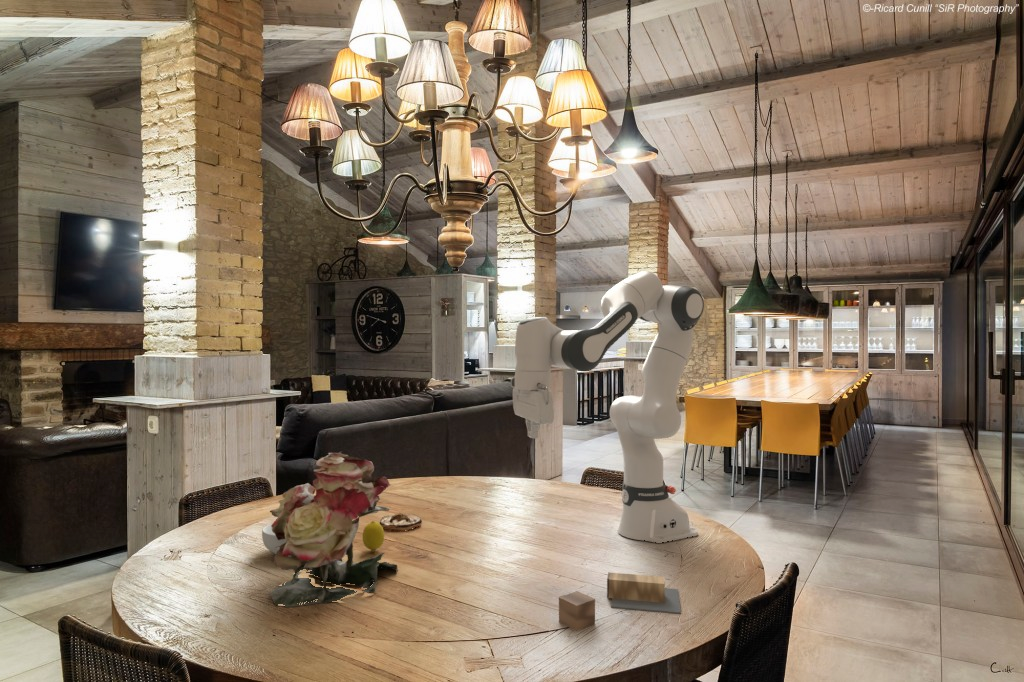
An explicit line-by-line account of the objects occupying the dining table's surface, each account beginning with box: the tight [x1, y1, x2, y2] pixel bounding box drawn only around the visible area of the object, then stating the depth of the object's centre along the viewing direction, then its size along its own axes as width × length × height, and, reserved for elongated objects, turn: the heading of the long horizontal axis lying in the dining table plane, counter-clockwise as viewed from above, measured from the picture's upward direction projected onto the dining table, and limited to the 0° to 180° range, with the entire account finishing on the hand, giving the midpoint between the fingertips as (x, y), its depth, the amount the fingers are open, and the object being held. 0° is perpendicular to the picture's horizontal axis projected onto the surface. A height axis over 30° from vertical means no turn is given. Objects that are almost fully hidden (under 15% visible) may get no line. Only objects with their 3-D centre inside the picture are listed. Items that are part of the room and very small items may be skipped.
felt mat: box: [610, 587, 682, 615], centre depth 135 cm, size 14×12×1 cm
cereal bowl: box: [261, 522, 292, 557], centre depth 164 cm, size 17×17×7 cm
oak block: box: [606, 572, 666, 603], centre depth 136 cm, size 4×4×12 cm
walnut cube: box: [558, 590, 596, 632], centre depth 124 cm, size 5×5×5 cm
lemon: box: [362, 520, 385, 552], centre depth 165 cm, size 6×6×8 cm
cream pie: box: [379, 512, 423, 532], centre depth 188 cm, size 15×15×4 cm
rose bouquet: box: [269, 452, 404, 608], centre depth 142 cm, size 26×29×30 cm
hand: (532, 437), depth 157 cm, fingers closed
